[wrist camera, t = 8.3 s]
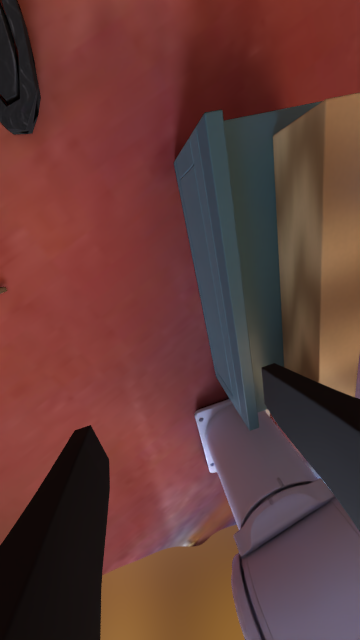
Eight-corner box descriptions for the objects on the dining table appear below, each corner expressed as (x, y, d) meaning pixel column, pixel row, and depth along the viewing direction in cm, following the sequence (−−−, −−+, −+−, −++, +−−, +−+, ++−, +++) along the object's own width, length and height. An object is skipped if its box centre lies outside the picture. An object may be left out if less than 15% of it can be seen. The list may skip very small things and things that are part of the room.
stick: (315, 381, 17) (353, 411, 14) (285, 392, 17) (317, 425, 14) (320, 125, 11) (389, 85, 8) (271, 135, 11) (325, 98, 8)
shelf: (298, 349, 23) (359, 391, 17) (215, 377, 22) (249, 431, 16) (293, 136, 16) (396, 75, 10) (173, 162, 15) (204, 112, 9)
